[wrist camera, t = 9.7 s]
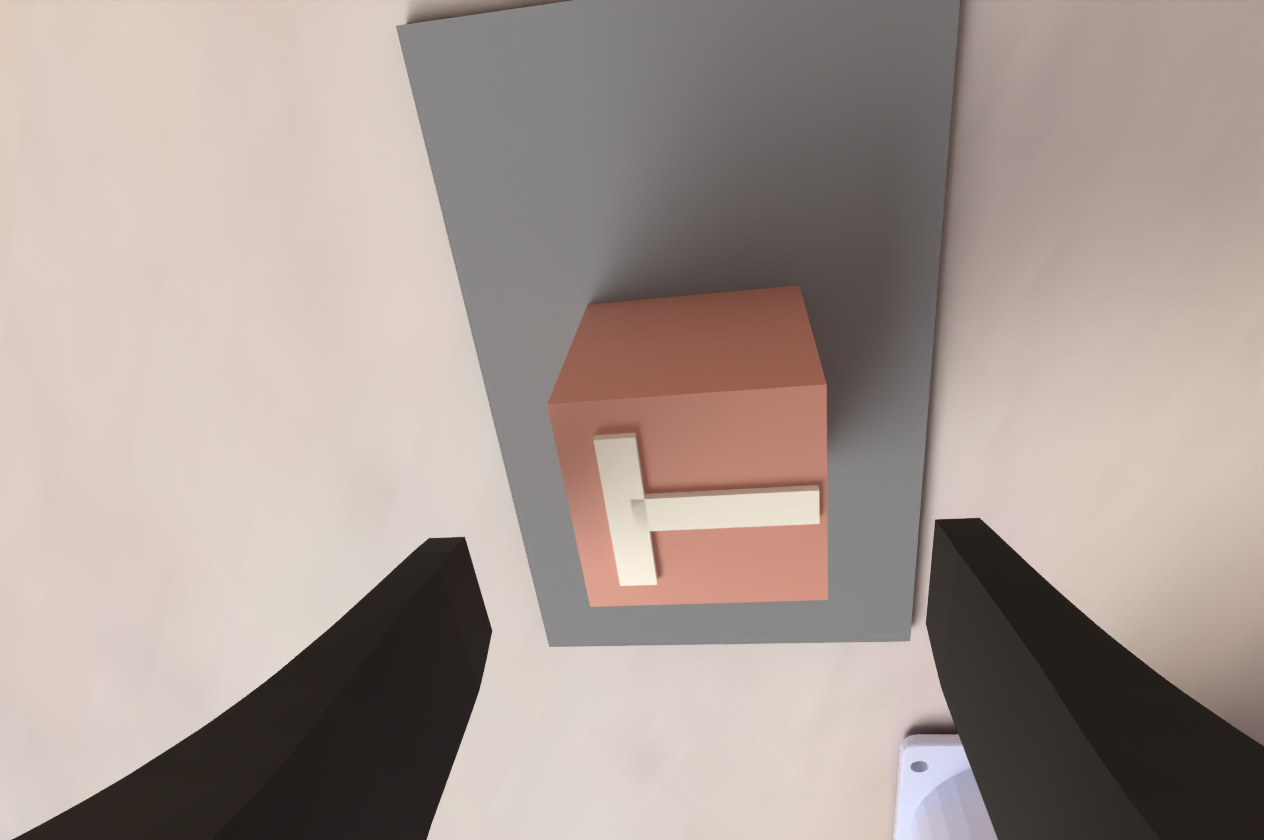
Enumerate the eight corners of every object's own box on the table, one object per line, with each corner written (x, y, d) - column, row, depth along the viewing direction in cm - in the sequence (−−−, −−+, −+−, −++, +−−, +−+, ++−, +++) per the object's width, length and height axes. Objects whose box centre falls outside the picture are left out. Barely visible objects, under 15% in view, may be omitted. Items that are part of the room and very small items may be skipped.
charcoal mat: (906, 630, 21) (910, 641, 20) (551, 636, 22) (549, 646, 22) (957, -55, 13) (965, -57, 12) (403, 24, 14) (396, 26, 14)
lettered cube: (803, 465, 18) (829, 606, 14) (616, 476, 18) (588, 612, 14) (799, 285, 16) (827, 389, 12) (587, 304, 16) (544, 408, 12)
